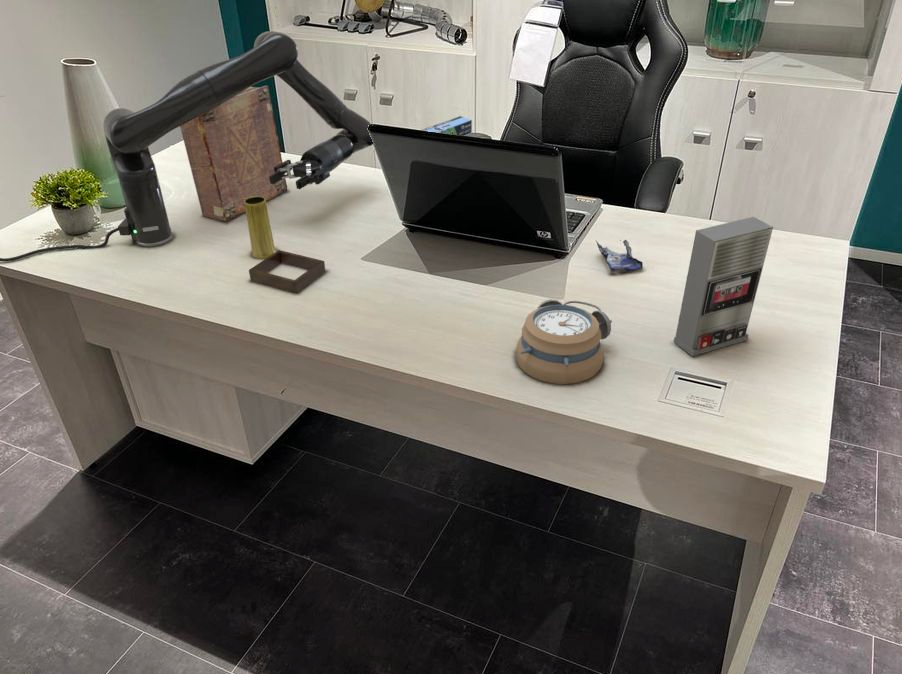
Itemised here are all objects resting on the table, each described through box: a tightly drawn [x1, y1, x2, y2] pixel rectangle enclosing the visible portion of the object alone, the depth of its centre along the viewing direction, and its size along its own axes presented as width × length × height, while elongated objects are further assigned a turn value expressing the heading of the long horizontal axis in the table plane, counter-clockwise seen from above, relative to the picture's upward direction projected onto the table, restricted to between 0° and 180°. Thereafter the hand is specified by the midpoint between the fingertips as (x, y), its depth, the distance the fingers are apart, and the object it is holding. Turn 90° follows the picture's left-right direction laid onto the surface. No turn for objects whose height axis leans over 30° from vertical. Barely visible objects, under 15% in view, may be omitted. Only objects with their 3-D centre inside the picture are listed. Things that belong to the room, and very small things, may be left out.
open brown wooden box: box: [248, 249, 327, 294], centre depth 182 cm, size 14×12×3 cm
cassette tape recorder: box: [673, 216, 774, 357], centre depth 148 cm, size 14×6×25 cm, turn 114°
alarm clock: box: [515, 299, 613, 385], centre depth 152 cm, size 17×9×23 cm
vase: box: [244, 196, 277, 259], centre depth 189 cm, size 6×6×14 cm
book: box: [179, 85, 288, 222], centre depth 210 cm, size 25×9×30 cm, turn 148°
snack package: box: [595, 239, 644, 273], centre depth 183 cm, size 12×6×12 cm
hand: (283, 183), depth 191 cm, fingers open, 8 cm apart
